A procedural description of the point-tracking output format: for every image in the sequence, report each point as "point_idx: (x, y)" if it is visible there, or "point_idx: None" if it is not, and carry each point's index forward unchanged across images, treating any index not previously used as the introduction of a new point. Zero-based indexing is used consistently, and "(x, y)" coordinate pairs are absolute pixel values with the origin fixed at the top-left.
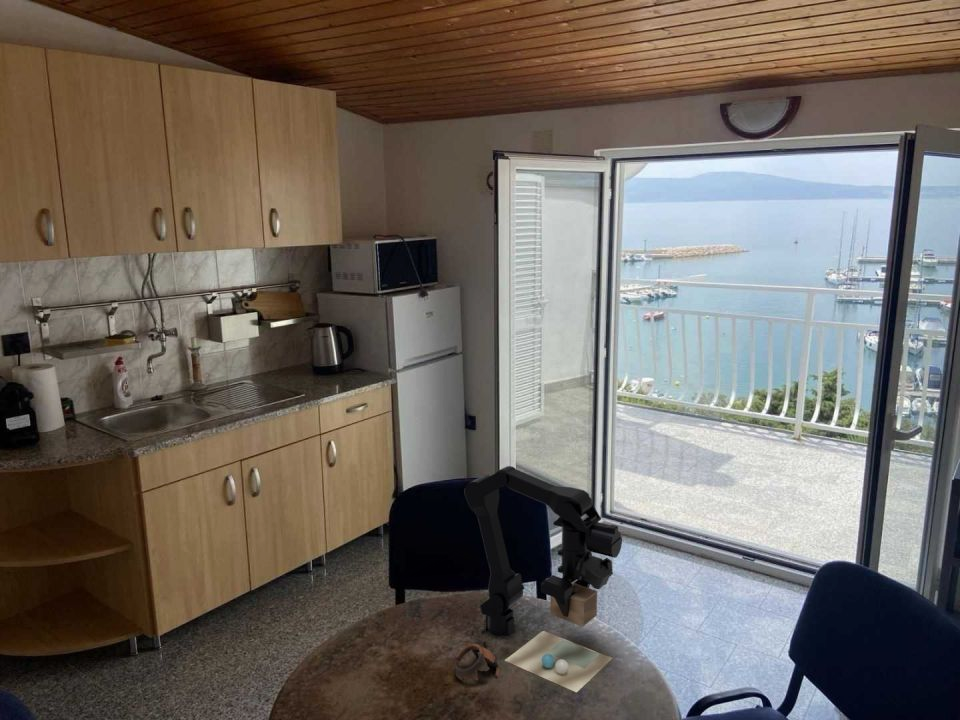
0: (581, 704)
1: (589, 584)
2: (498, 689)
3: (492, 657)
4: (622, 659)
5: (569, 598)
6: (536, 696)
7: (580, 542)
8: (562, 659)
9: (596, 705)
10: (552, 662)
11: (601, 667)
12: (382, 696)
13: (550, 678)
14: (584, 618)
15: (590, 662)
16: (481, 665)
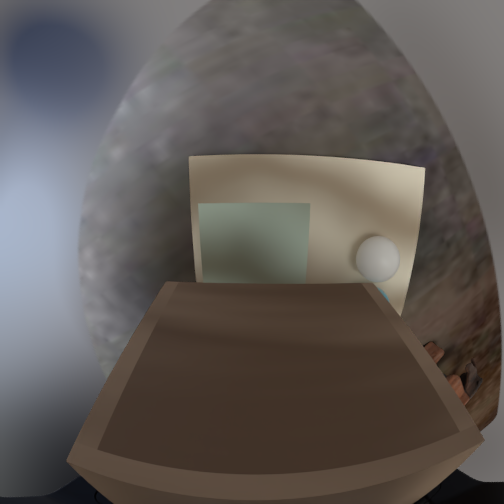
0: (433, 142)
1: (74, 497)
2: (452, 325)
3: (451, 385)
4: (156, 139)
5: (448, 494)
6: (452, 253)
7: None
8: (379, 269)
9: (416, 105)
10: (380, 291)
11: (267, 157)
12: (480, 399)
13: (406, 261)
14: (369, 311)
15: (265, 203)
16: (474, 377)
